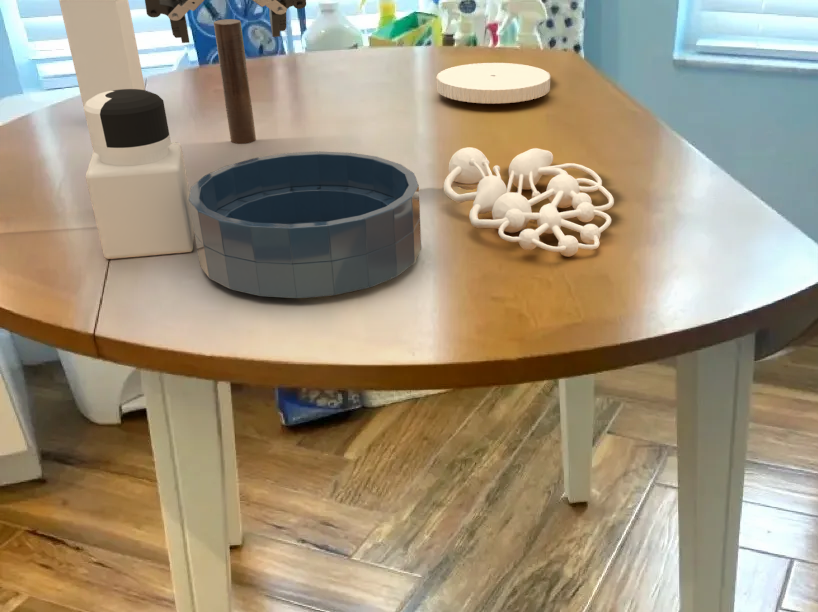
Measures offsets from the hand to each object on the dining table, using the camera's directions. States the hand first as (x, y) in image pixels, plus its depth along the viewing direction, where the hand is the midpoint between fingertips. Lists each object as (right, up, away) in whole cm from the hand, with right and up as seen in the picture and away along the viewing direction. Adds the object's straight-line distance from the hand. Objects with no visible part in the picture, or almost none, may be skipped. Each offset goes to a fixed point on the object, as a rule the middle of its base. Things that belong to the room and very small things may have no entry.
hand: (229, 31), depth 92 cm
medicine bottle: (-4, -23, -10) cm, 25 cm away
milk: (-18, -1, +21) cm, 28 cm away
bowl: (+10, -25, -14) cm, 30 cm away
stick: (0, -9, +9) cm, 13 cm away
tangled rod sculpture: (+29, -20, -6) cm, 35 cm away
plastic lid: (+26, +4, +27) cm, 38 cm away
